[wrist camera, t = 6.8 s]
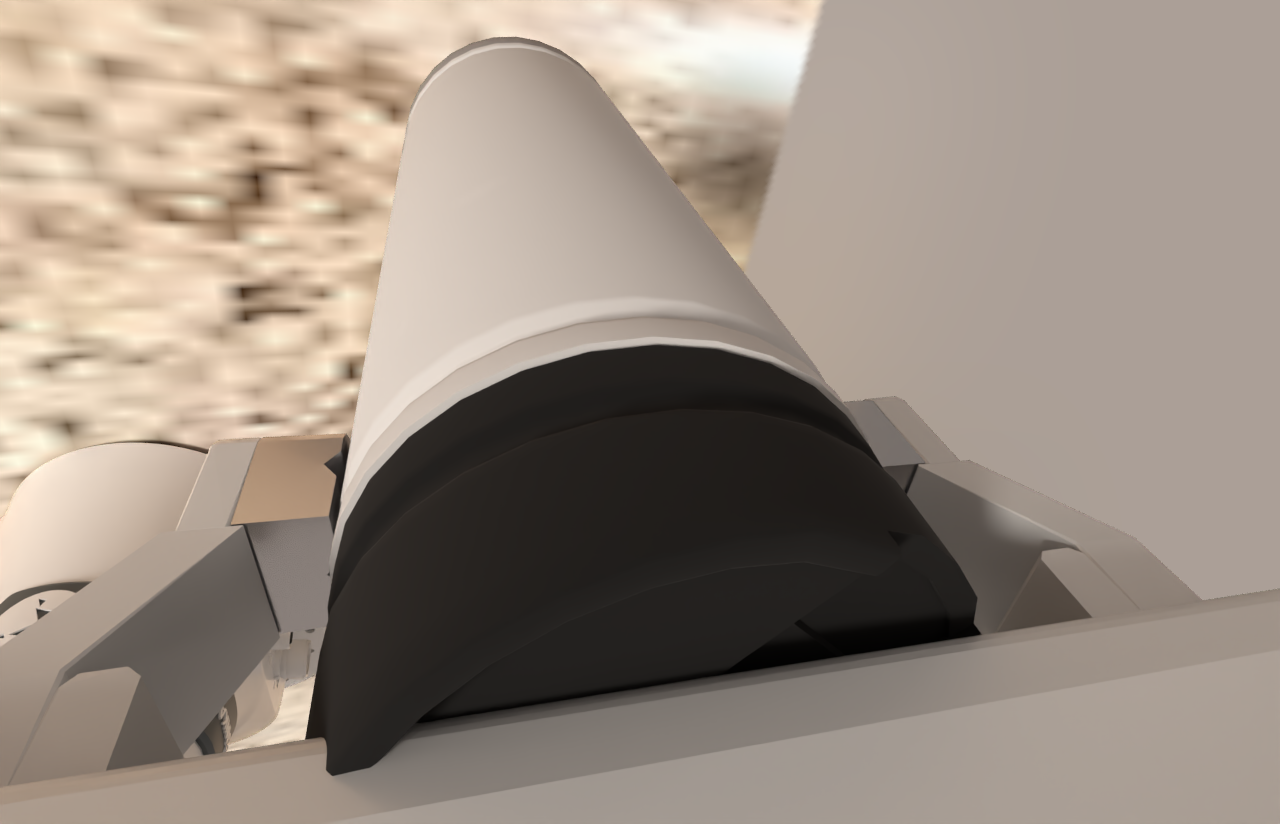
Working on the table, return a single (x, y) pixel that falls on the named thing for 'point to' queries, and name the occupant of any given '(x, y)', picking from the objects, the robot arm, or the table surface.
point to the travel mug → (588, 438)
